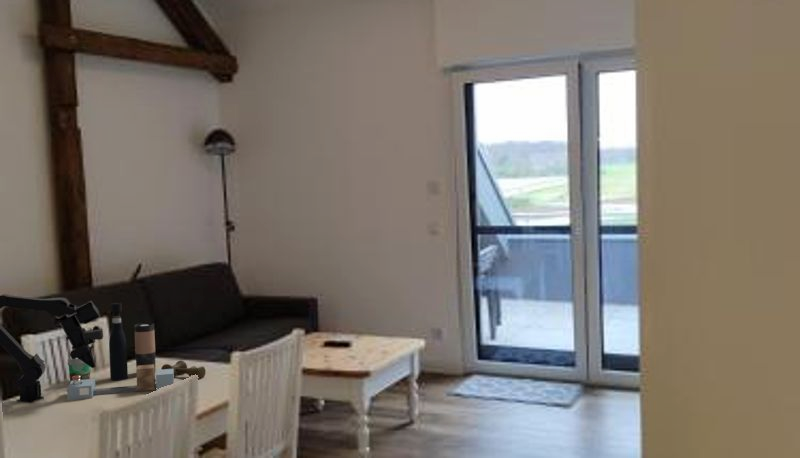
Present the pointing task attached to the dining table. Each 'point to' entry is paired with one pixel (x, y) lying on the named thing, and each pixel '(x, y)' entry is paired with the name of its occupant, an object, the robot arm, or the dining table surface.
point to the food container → (78, 369)
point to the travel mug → (145, 344)
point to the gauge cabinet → (81, 389)
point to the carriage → (145, 377)
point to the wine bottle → (117, 346)
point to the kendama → (186, 369)
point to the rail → (116, 390)
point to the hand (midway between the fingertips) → (93, 367)
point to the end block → (164, 377)
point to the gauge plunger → (76, 380)
